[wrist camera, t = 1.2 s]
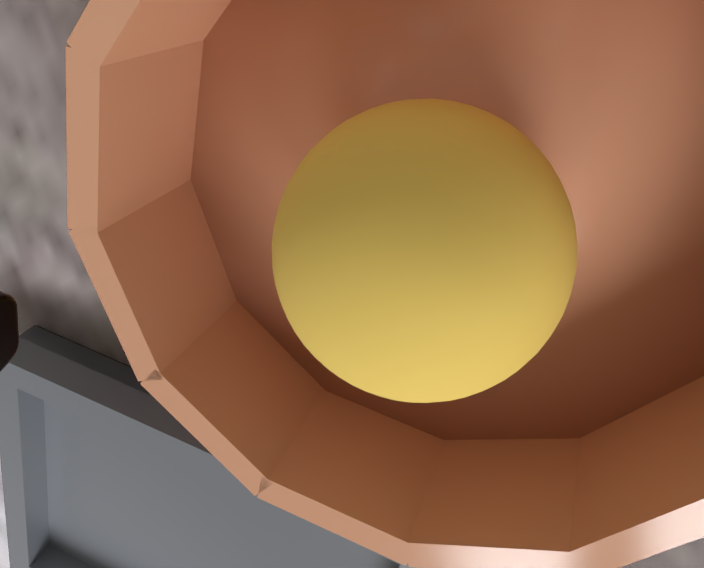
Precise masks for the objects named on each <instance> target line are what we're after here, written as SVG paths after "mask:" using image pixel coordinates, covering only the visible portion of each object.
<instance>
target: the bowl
mask: <svg viewBox="0 0 704 568" xmlns="http://www.w3.org/2000/svg"><path fill="white" fill-rule="evenodd" d="M66 43H67V44H68V46H66V134H67V225H68V228H70V229H71V230H69V233H70V236H71V238H72V240H73V242H74V244H75V246H76V248H77V251H78V253H79V255H80V257H81V259H82V261H83V264H84V266H85V268H86V270H87V272H88V274H89V277H90V279H91V281H92V283H93V285H94V287H95V289H96V292H97V294H98V296H99V298H100V300H101V302H102V305H103V307H104V309H105V311H106V313H107V315H108V317H109V320H110V322H111V324H112V326H113V328H114V330H115V333H116V335H117V337H118V339H119V341H120V343H121V345H122V348H123V350H124V352H125V354H126V356H127V358H128V361H129V363H130V365H131V367H132V369H133V371H134V374H135V376H136V378H137V380H138V381H142V382H141V383H140V384H141V385H142V386H143V387H144V388H145V389H146V390H147V391H148V392H149V393H150V394H151V395H152V396H153V397H154V398H155V399H156V400H157V401H158V402H159V403H160V404H161V405H162V406H163V407H164V408H165V409H166V410H167V411H168V412H169V413H170V414H171V415H172V416H173V417H174V418H175V419H176V420H178V421H179V422H180V423H181V424H182V425H183V426H184V427H185V428H186V429H187V430H188V431H189V432H190V433H191V434H192V435H193V436H194V437H195V438H196V439H197V440H198V441H199V442H200V443H201V444H202V445H203V446H204V447H205V448H206V449H207V450H208V451H209V452H210V453H211V454H212V455H213V456H214V457H215V458H216V459H217V460H218V461H219V462H221V463H222V464H223V465H224V466H225V467H226V468H227V469H228V470H229V471H230V472H231V473H232V474H233V475H234V476H235V477H236V478H237V479H238V480H239V481H240V482H241V483H242V484H243V485H244V486H245V487H246V488H247V489H248V490H249V491H250V492H251V493H252V494H253V495H254V496H255V495H257V494H258V496H257V498H259V499H261V500H263V501H266V502H268V503H270V504H272V505H274V506H277V507H279V508H281V509H283V510H285V511H287V512H290V513H292V514H294V515H296V516H298V517H300V518H303V519H305V520H307V521H309V522H311V523H313V524H316V525H318V526H320V527H322V528H324V529H326V530H329V531H331V532H333V533H335V534H337V535H339V536H342V537H344V538H346V539H348V540H350V541H352V542H355V543H357V544H359V545H361V546H363V547H366V548H368V549H370V550H372V551H374V552H376V553H379V554H381V555H383V556H385V557H387V558H389V559H392V560H394V561H396V562H398V563H400V564H402V565H405V566H406V565H407V563H408V565H409V567H416V568H620V567H623V566H625V565H628V564H631V563H634V562H636V561H639V560H642V559H645V558H647V557H650V556H653V555H656V554H658V553H661V552H664V551H667V550H669V549H672V548H675V547H678V546H680V545H683V544H686V543H689V542H691V541H694V540H697V539H700V538H702V537H704V0H90V1H89V3H88V4H87V6H86V8H85V10H84V12H83V13H82V15H81V17H80V19H79V21H78V22H77V24H76V26H75V28H74V30H73V31H72V33H71V35H70V37H69V39H68V40H67V42H66ZM408 99H441V100H450V101H456V102H460V103H464V104H468V105H472V106H474V107H477V108H480V109H482V110H485V111H487V112H490V113H492V114H494V115H495V116H497V117H499V118H501V119H503V120H504V121H506V122H508V123H509V124H511V125H512V126H513V127H515V128H516V129H518V130H519V131H520V132H522V133H523V134H524V135H525V136H526V137H527V138H528V139H529V140H530V141H531V142H532V143H534V144H535V145H536V146H537V147H538V148H539V150H540V151H541V152H542V153H543V155H544V156H545V157H546V158H547V160H548V161H549V162H550V164H551V165H552V167H553V169H554V170H555V172H556V174H557V175H558V177H559V179H560V181H561V183H562V185H563V187H564V189H565V192H566V194H567V197H568V199H569V202H570V204H571V208H572V212H573V216H574V220H575V225H576V236H577V268H576V274H575V279H574V284H573V288H572V292H571V295H570V298H569V301H568V303H567V306H566V309H565V311H564V314H563V316H562V318H561V320H560V321H559V323H558V325H557V327H556V328H555V330H554V332H553V333H552V335H551V336H550V338H549V339H548V340H547V342H546V343H545V344H544V346H543V347H542V348H541V349H540V351H539V352H538V353H537V354H536V355H535V356H534V357H533V358H532V359H531V360H530V361H529V362H527V363H526V364H525V365H524V366H523V367H522V368H521V369H519V370H518V371H517V372H516V373H514V374H513V375H511V376H510V377H508V378H507V379H506V380H504V381H502V382H500V383H498V384H496V385H495V386H493V387H491V388H489V389H486V390H484V391H482V392H479V393H476V394H474V395H471V396H468V397H465V398H460V399H456V400H451V401H443V402H432V403H411V402H403V401H396V400H391V399H387V398H383V397H380V396H377V395H374V394H371V393H368V392H366V391H364V390H361V389H359V388H357V387H355V386H353V385H351V384H349V383H348V382H346V381H344V380H343V379H341V378H339V377H338V376H337V375H335V374H334V373H333V372H331V371H330V370H329V369H327V368H326V367H325V366H324V365H323V364H322V363H320V362H319V361H318V360H317V359H316V358H315V357H314V356H313V355H312V354H311V353H310V351H309V350H308V349H307V348H306V347H305V346H304V344H303V343H302V342H301V340H300V339H299V337H298V336H297V335H296V333H295V332H294V330H293V328H292V326H291V324H290V323H289V321H288V319H287V317H286V314H285V312H284V310H283V307H282V305H281V302H280V299H279V296H278V292H277V289H276V286H275V281H274V275H273V268H272V237H273V227H274V223H275V219H276V215H277V211H278V207H279V203H280V200H281V198H282V196H283V193H284V191H285V188H286V186H287V184H288V182H289V181H290V179H291V177H292V176H293V174H294V172H295V170H296V169H297V167H298V165H299V164H300V162H301V161H302V160H303V159H304V157H305V156H306V155H307V154H308V152H309V151H310V150H311V149H312V148H313V147H314V146H315V145H316V144H317V143H318V142H319V141H320V140H321V139H322V138H324V137H325V136H326V135H327V134H328V133H329V132H330V131H331V130H333V129H334V128H336V127H337V126H339V125H340V124H341V123H343V122H344V121H346V120H348V119H350V118H352V117H354V116H356V115H358V114H360V113H362V112H364V111H366V110H368V109H371V108H374V107H377V106H380V105H383V104H386V103H390V102H396V101H402V100H408Z"/></svg>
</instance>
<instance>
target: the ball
mask: <svg viewBox="0 0 704 568" xmlns="http://www.w3.org/2000/svg"><path fill="white" fill-rule="evenodd" d="M272 268H273V275H274V281H275V286H276V289H277V292H278V296H279V299H280V302H281V305H282V307H283V310H284V312H285V314H286V317H287V319H288V321H289V323H290V324H291V326H292V328H293V330H294V332H295V333H296V335H297V336H298V337H299V339H300V340H301V342H302V343H303V344H304V346H305V347H306V348H307V349H308V350H309V351H310V353H311V354H312V355H313V356H314V357H315V358H316V359H317V360H318V361H319V362H320V363H322V364H323V365H324V366H325V367H326V368H327V369H329V370H330V371H331V372H333V373H334V374H335V375H337V376H338V377H339V378H341V379H343V380H344V381H346V382H348V383H349V384H351V385H353V386H355V387H357V388H359V389H361V390H364V391H366V392H368V393H371V394H374V395H377V396H380V397H383V398H387V399H391V400H396V401H403V402H411V403H432V402H443V401H451V400H456V399H460V398H465V397H468V396H471V395H474V394H476V393H479V392H482V391H484V390H486V389H489V388H491V387H493V386H495V385H496V384H498V383H500V382H502V381H504V380H506V379H507V378H508V377H510V376H511V375H513V374H514V373H516V372H517V371H518V370H519V369H521V368H522V367H523V366H524V365H525V364H526V363H527V362H529V361H530V360H531V359H532V358H533V357H534V356H535V355H536V354H537V353H538V352H539V351H540V349H541V348H542V347H543V346H544V344H545V343H546V342H547V340H548V339H549V338H550V336H551V335H552V333H553V332H554V330H555V328H556V327H557V325H558V323H559V321H560V320H561V318H562V316H563V314H564V311H565V309H566V306H567V303H568V301H569V298H570V295H571V292H572V288H573V284H574V279H575V274H576V268H577V236H576V225H575V220H574V216H573V212H572V208H571V204H570V202H569V199H568V197H567V194H566V192H565V189H564V187H563V185H562V183H561V181H560V179H559V177H558V175H557V174H556V172H555V170H554V169H553V167H552V165H551V164H550V162H549V161H548V160H547V158H546V157H545V156H544V155H543V153H542V152H541V151H540V150H539V148H538V147H537V146H536V145H535V144H534V143H532V142H531V141H530V140H529V139H528V138H527V137H526V136H525V135H524V134H523V133H522V132H520V131H519V130H518V129H516V128H515V127H513V126H512V125H511V124H509V123H508V122H506V121H504V120H503V119H501V118H499V117H497V116H495V115H494V114H492V113H490V112H487V111H485V110H482V109H480V108H477V107H474V106H472V105H468V104H464V103H460V102H456V101H450V100H441V99H408V100H402V101H396V102H390V103H386V104H383V105H380V106H377V107H374V108H371V109H368V110H366V111H364V112H362V113H360V114H358V115H356V116H354V117H352V118H350V119H348V120H346V121H344V122H343V123H341V124H340V125H339V126H337V127H336V128H334V129H333V130H331V131H330V132H329V133H328V134H327V135H326V136H325V137H324V138H322V139H321V140H320V141H319V142H318V143H317V144H316V145H315V146H314V147H313V148H312V149H311V150H310V151H309V152H308V154H307V155H306V156H305V157H304V159H303V160H302V161H301V162H300V164H299V165H298V167H297V169H296V170H295V172H294V174H293V176H292V177H291V179H290V181H289V182H288V184H287V186H286V188H285V191H284V193H283V196H282V198H281V200H280V203H279V207H278V211H277V215H276V219H275V223H274V227H273V237H272Z"/></svg>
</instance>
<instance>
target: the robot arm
mask: <svg viewBox="0 0 704 568" xmlns="http://www.w3.org/2000/svg"><path fill="white" fill-rule="evenodd" d="M18 345H19V331H18V314H17V304H16V301H15V300H14V298H13V297H12V296H11V295H9V294H6V293H4V292H2V291H0V372H1V371H2V370H3V369H4V368H5V366H6V365H7V364H8V363H9V362H10V361H11V360H12V358H13V357H14V355H15V354H16V352H17V349H18Z"/></svg>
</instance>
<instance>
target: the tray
mask: <svg viewBox="0 0 704 568" xmlns="http://www.w3.org/2000/svg"><path fill="white" fill-rule="evenodd" d="M141 382H142V381H138V380H137V378H136V376H135V374H134V371H133V369H132V368H131V367H129V366H126V365H124V364H122V363H119V362H117V361H115V360H113V359H110V358H108V357H106V356H103V355H101V354H99V353H97V352H94V351H92V350H90V349H87V348H85V347H83V346H81V345H78V344H76V343H74V342H71V341H69V340H67V339H65V338H62V337H60V336H58V335H55V334H53V333H51V332H49V331H46V330H44V329H42V328H39V327H37V326H33V327H32V328H30V329H29V330H27V331H26V332H24V333H23V334H21V335H20V336H19V345H18V349H17V352H16V354H15V355H14V357H13V358H12V360H11V361H10V362H9V363H8V364H7V365H6V366H5V368H4V369H3V370H2V371H1V372H0V458H1V470H2V481H3V492H4V503H5V515H6V526H7V537H8V548H9V560H10V568H416V567H409V565H408V563H407V565H406V566H405V565H402V564H400V563H398V562H396V561H394V560H392V559H389V558H387V557H385V556H383V555H381V554H379V553H376V552H374V551H372V550H370V549H368V548H366V547H363V546H361V545H359V544H357V543H355V542H352V541H350V540H348V539H346V538H344V537H342V536H339V535H337V534H335V533H333V532H331V531H329V530H326V529H324V528H322V527H320V526H318V525H316V524H313V523H311V522H309V521H307V520H305V519H303V518H300V517H298V516H296V515H294V514H292V513H290V512H287V511H285V510H283V509H281V508H279V507H277V506H274V505H272V504H270V503H268V502H266V501H263V500H261V499H259V498H257V496H258V494H257V495H255V496H254V495H253V494H252V493H251V492H250V491H249V490H248V489H247V488H246V487H245V486H244V485H243V484H242V483H241V482H240V481H239V480H238V479H237V478H236V477H235V476H234V475H233V474H232V473H231V472H230V471H229V470H228V469H227V468H226V467H225V466H224V465H223V464H222V463H221V462H219V461H218V460H217V459H216V458H215V457H214V456H213V455H212V454H211V453H210V452H209V451H208V450H207V449H206V448H205V447H204V446H203V445H202V444H201V443H200V442H199V441H198V440H197V439H196V438H195V437H194V436H193V435H192V434H191V433H190V432H189V431H188V430H187V429H186V428H185V427H184V426H183V425H182V424H181V423H180V422H179V421H178V420H176V419H175V418H174V417H173V416H172V415H171V414H170V413H169V412H168V411H167V410H166V409H165V408H164V407H163V406H162V405H161V404H160V403H159V402H158V401H157V400H156V399H155V398H154V397H153V396H152V395H151V394H150V393H149V392H148V391H147V390H146V389H145V388H144V387H143V386H142V385H141V384H140V383H141Z"/></svg>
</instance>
